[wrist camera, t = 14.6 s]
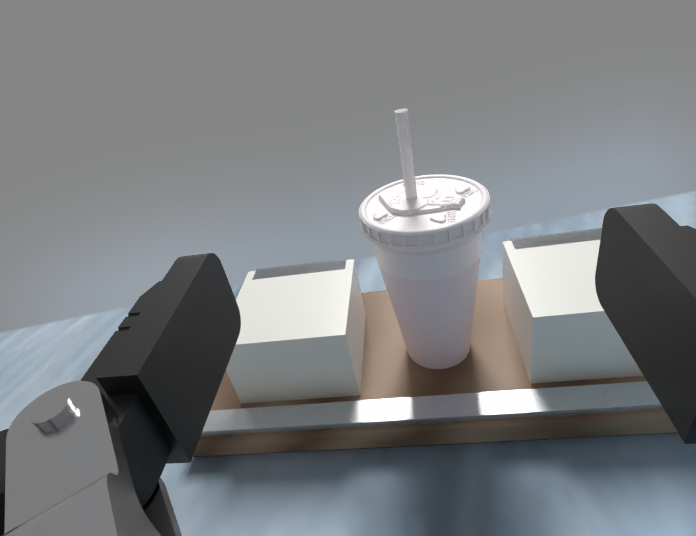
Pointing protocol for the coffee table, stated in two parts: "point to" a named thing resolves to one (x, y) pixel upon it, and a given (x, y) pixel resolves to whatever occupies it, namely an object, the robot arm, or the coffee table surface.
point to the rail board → (424, 383)
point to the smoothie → (428, 254)
